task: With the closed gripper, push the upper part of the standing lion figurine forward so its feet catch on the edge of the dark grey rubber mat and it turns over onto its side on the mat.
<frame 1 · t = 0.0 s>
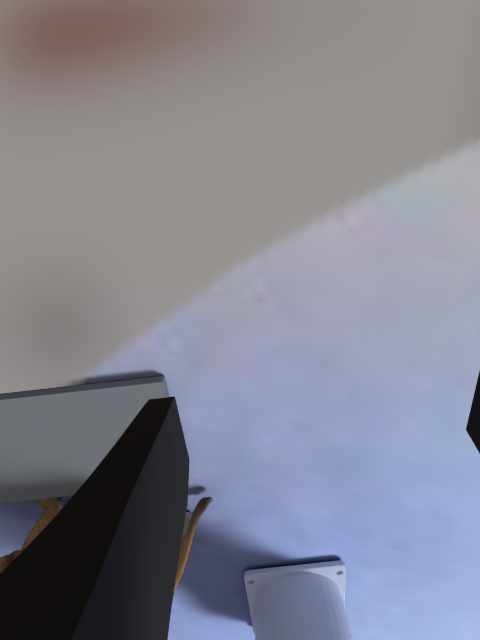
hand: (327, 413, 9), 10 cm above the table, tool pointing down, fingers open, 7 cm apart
lion figurine: (104, 510, 25), on the table
rubber mat: (71, 441, 22), on the table
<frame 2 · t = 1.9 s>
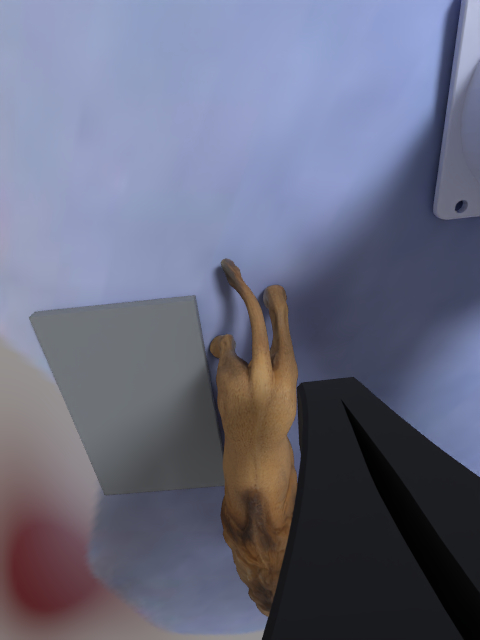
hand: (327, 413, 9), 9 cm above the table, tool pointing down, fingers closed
lion figurine: (263, 384, 20), on the table
rubber mat: (144, 406, 21), on the table
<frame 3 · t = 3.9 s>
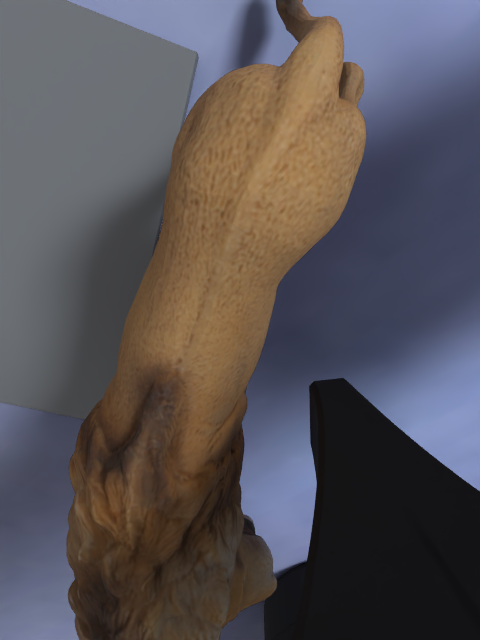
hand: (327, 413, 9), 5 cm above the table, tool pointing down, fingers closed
pen holder: (332, 591, 22), on the table
lion figurine: (238, 270, 12), on the table, touching gripper
rubber mat: (28, 240, 12), on the table
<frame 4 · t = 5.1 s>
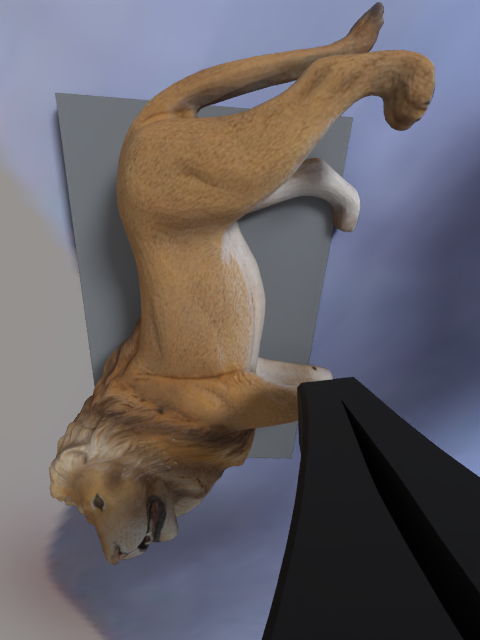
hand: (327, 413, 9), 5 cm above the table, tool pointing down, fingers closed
lion figurine: (370, 327, 10), point 3 cm above the table, touching rubber mat
rubber mat: (203, 313, 13), on the table
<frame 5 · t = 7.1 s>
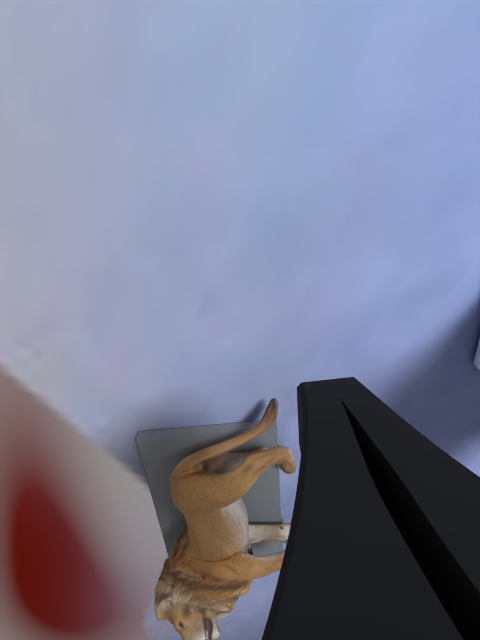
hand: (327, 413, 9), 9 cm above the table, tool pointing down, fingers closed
lion figurine: (300, 523, 21), point 3 cm above the table, touching rubber mat
rubber mat: (218, 500, 24), on the table
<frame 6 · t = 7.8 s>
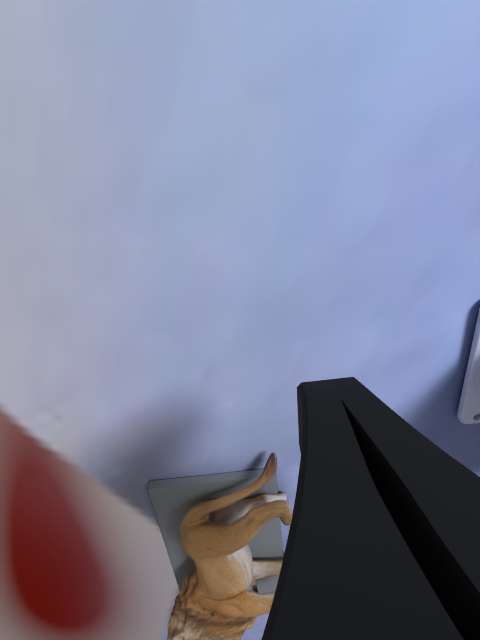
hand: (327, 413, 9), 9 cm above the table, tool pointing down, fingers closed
lion figurine: (300, 563, 22), point 3 cm above the table, touching rubber mat
rubber mat: (224, 538, 26), on the table
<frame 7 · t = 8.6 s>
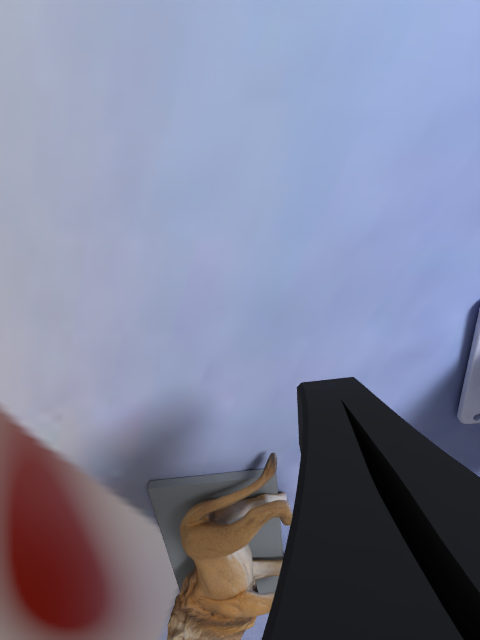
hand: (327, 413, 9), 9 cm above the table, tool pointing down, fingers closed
lion figurine: (300, 563, 22), point 3 cm above the table, touching rubber mat
rubber mat: (224, 538, 26), on the table
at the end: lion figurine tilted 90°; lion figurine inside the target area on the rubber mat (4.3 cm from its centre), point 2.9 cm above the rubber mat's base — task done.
